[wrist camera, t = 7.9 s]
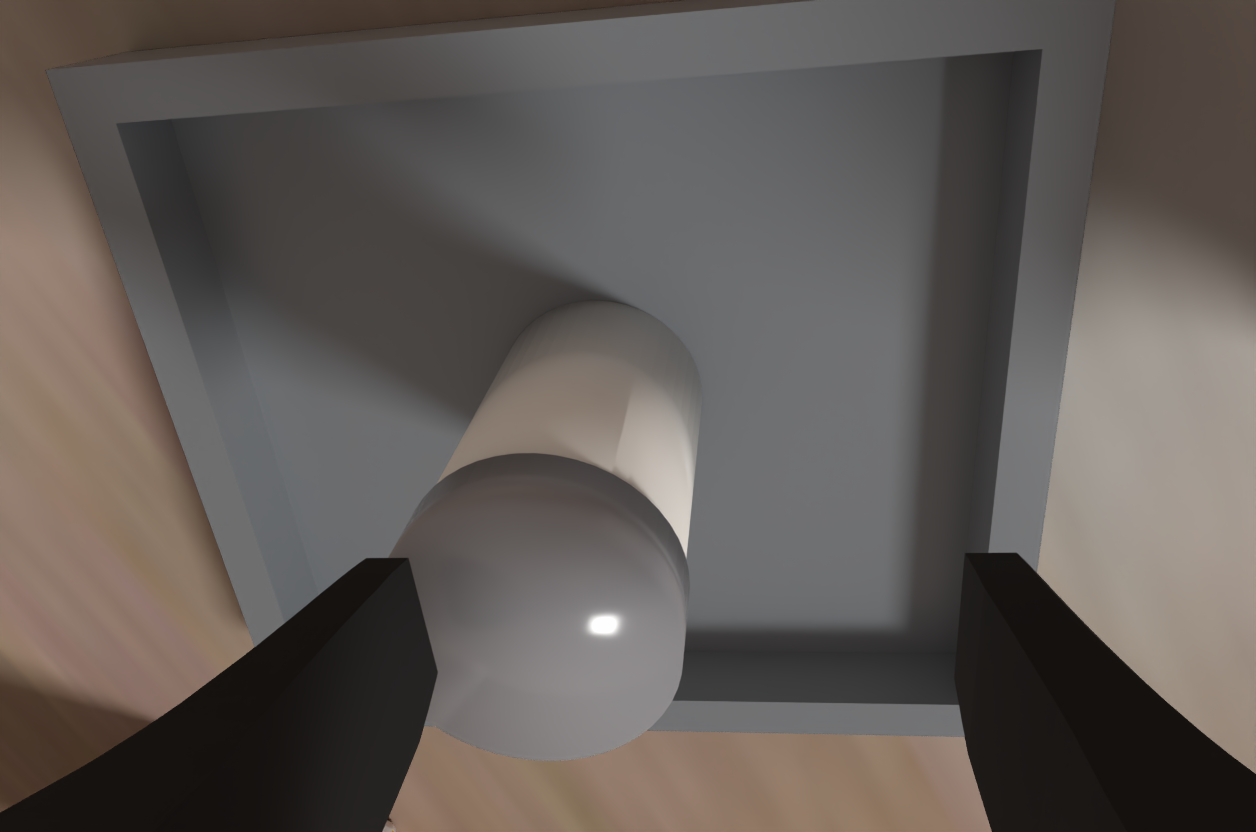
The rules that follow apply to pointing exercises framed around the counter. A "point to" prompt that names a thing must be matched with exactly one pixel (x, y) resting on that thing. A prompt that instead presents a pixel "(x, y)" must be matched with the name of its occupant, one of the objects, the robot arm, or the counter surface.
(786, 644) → the tray
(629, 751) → the counter surface
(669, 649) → the shaker
